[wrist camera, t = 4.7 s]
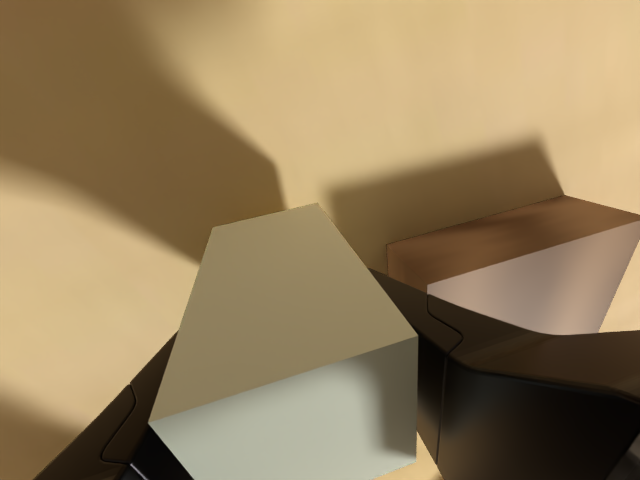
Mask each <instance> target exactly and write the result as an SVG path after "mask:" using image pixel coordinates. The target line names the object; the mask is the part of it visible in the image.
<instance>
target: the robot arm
mask: <svg viewBox="0 0 640 480" xmlns="http://www.w3.org/2000/svg"><path fill="white" fill-rule="evenodd" d="M367 269H368V270H369V271H370V273H371V274H372V275H373V277H374V278H375V279H376V281H377V282H378V283H379V284H380V286H381V287H382V288H383V290H384V291H385V292H386V294H387V295H388V296H389V298H390V299H391V300H392V302H393V303H394V304H395V306H396V307H397V308H398V310H399V311H400V312H401V313H402V315H403V316H404V317H405V319H406V320H407V321H408V323H409V324H410V325H411V327H412V328H413V329H414V331H415V332H416V333H417V335H418V379H417V432H418V433H419V435H420V437H421V439H422V441H423V442H424V444H425V446H426V448H427V449H428V451H429V453H430V455H431V457H432V458H433V460H434V462H435V464H436V465H437V467H438V469H439V471H440V473H441V475H442V476H443V478H444V480H640V330H636V331H620V332H604V333H589V334H573V335H553V334H546V333H540V332H535V331H532V330H528V329H525V328H522V327H519V326H516V325H513V324H510V323H507V322H504V321H501V320H498V319H495V318H493V317H490V316H487V315H484V314H481V313H478V312H475V311H472V310H469V309H466V308H464V307H461V306H458V305H455V304H453V303H450V302H448V301H445V300H443V299H440V298H438V297H436V296H433V295H431V294H427V293H426V292H424V291H421V290H419V289H417V288H414V287H412V286H410V285H407V284H405V283H403V282H400V281H398V280H396V279H393V278H391V277H389V276H386V275H384V274H382V273H379V272H377V271H375V270H372V269H370V268H368V267H367ZM178 331H179V330H178ZM178 331H177V332H176V333H175V334H174V335H173V336H172V337H171V339H170V340H169V341H168V342H167V343H166V344H165V345H164V346H163V347H162V348H161V349H160V350H159V352H158V353H157V354H156V355H155V356H154V357H153V358H152V359H151V360H150V361H149V362H148V363H147V364H146V366H145V367H144V368H143V369H142V370H141V371H140V372H139V373H138V374H137V375H136V376H135V377H134V378H133V380H132V381H131V382H130V384H128V385H127V386H126V387H125V388H124V389H123V390H122V391H121V392H120V393H119V395H118V396H117V397H116V398H115V399H114V400H113V401H112V402H111V403H110V404H109V405H108V406H107V407H106V408H105V409H104V410H103V411H102V412H101V413H100V415H99V416H98V417H97V418H96V419H95V420H94V421H93V422H92V423H91V424H90V425H89V426H88V427H87V428H86V429H85V430H84V431H82V432H81V433H80V434H79V435H78V436H77V437H76V438H75V439H74V440H73V441H72V442H71V443H70V444H69V445H68V446H67V447H66V448H65V449H64V450H63V451H62V452H61V453H60V454H59V455H58V456H57V457H56V458H55V459H54V460H53V461H52V462H51V463H50V464H49V465H47V466H46V467H45V468H44V469H43V470H42V471H41V472H40V473H39V474H38V475H37V476H36V477H35V478H34V479H33V480H194V479H193V478H192V476H191V475H190V474H189V473H188V471H187V470H186V469H185V468H184V467H183V465H182V464H181V463H180V462H179V460H178V459H177V458H176V457H175V456H174V454H173V453H172V452H171V451H170V449H169V448H168V447H167V446H166V444H165V443H164V442H163V441H162V440H161V438H160V437H159V436H158V435H157V433H156V432H155V431H154V430H153V429H152V427H151V426H150V425H149V424H148V421H149V418H150V415H151V412H152V409H153V406H154V403H155V400H156V397H157V394H158V391H159V388H160V385H161V382H162V379H163V376H164V373H165V370H166V367H167V364H168V361H169V358H170V355H171V352H172V349H173V346H174V343H175V340H176V337H177V334H178Z"/></svg>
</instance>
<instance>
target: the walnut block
mask: <svg viewBox="0 0 640 480" xmlns="http://www.w3.org/2000/svg"><path fill="white" fill-rule="evenodd" d="M639 240H640V215H638V214H634V213H631V212H627V211H623V210H619V209H615V208H611V207H608V206H604V205H600V204H596V203H592V202H589V201H585V200H581V199H577V198H573V197H569V196H566V195H564V196H560V197H557V198H553V199H549V200H546V201H542V202H539V203H535V204H531V205H528V206H524V207H521V208H517V209H513V210H510V211H506V212H502V213H499V214H495V215H492V216H488V217H484V218H481V219H477V220H474V221H470V222H466V223H463V224H459V225H456V226H452V227H448V228H445V229H441V230H437V231H434V232H430V233H427V234H423V235H419V236H416V237H412V238H409V239H405V240H401V241H398V242H394V243H391V244H387V245H386V249H387V265H388V276H389V277H391V278H393V279H396V280H398V281H400V282H403V283H405V284H407V285H410V286H412V287H414V288H417V289H419V290H421V291H424V292H426V293H427V294H431V295H433V296H436V297H438V298H440V299H443V300H445V301H448V302H450V303H453V304H455V305H458V306H461V307H464V308H466V309H469V310H472V311H475V312H478V313H481V314H484V315H487V316H490V317H493V318H495V319H498V320H501V321H504V322H507V323H510V324H513V325H516V326H519V327H522V328H525V329H528V330H532V331H535V332H540V333H546V334H553V335H573V334H589V333H598V331H599V329H600V327H601V325H602V322H603V320H604V318H605V316H606V313H607V311H608V309H609V307H610V304H611V302H612V300H613V298H614V295H615V293H616V291H617V289H618V286H619V284H620V282H621V280H622V278H623V275H624V273H625V271H626V269H627V266H628V264H629V262H630V260H631V257H632V255H633V253H634V251H635V248H636V246H637V244H638V242H639Z"/></svg>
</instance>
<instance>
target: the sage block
mask: <svg viewBox="0 0 640 480" xmlns="http://www.w3.org/2000/svg"><path fill="white" fill-rule="evenodd" d="M417 379H418V335H417V333H416V332H415V331H414V329H413V328H412V327H411V325H410V324H409V323H408V321H407V320H406V319H405V317H404V316H403V315H402V313H401V312H400V311H399V310H398V308H397V307H396V306H395V304H394V303H393V302H392V300H391V299H390V298H389V296H388V295H387V294H386V292H385V291H384V290H383V288H382V287H381V286H380V284H379V283H378V282H377V281H376V279H375V278H374V277H373V275H372V274H371V273H370V271H369V270H368V269H367V267H366V266H365V265H364V263H363V262H362V261H361V259H360V258H359V257H358V255H357V254H356V253H355V251H354V250H353V249H352V248H351V246H350V245H349V244H348V242H347V241H346V240H345V238H344V237H343V236H342V234H341V233H340V232H339V230H338V229H337V228H336V226H335V225H334V224H333V222H332V221H331V220H330V218H329V217H328V216H327V215H326V213H325V212H324V211H323V209H322V208H321V207H320V205H319V204H318V203H314V204H310V205H306V206H301V207H297V208H293V209H289V210H284V211H280V212H276V213H272V214H267V215H263V216H259V217H255V218H250V219H246V220H242V221H238V222H233V223H229V224H225V225H221V226H216V227H213V228H212V231H211V234H210V237H209V240H208V243H207V246H206V249H205V252H204V255H203V258H202V261H201V264H200V267H199V270H198V273H197V276H196V279H195V282H194V285H193V288H192V291H191V294H190V297H189V301H188V304H187V307H186V310H185V313H184V316H183V319H182V322H181V325H180V328H179V331H178V334H177V337H176V340H175V343H174V346H173V349H172V352H171V355H170V358H169V361H168V364H167V367H166V370H165V373H164V376H163V379H162V382H161V385H160V388H159V391H158V394H157V397H156V400H155V403H154V406H153V409H152V412H151V415H150V418H149V421H148V424H149V425H150V426H151V427H152V429H153V430H154V431H155V432H156V433H157V435H158V436H159V437H160V438H161V440H162V441H163V442H164V443H165V444H166V446H167V447H168V448H169V449H170V451H171V452H172V453H173V454H174V456H175V457H176V458H177V459H178V460H179V462H180V463H181V464H182V465H183V467H184V468H185V469H186V470H187V471H188V473H189V474H190V475H191V476H192V478H193V479H194V480H372V479H374V478H377V477H379V476H382V475H385V474H387V473H390V472H392V471H395V470H397V469H400V468H402V467H405V466H407V465H410V464H412V463H415V462H416V440H417Z"/></svg>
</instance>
